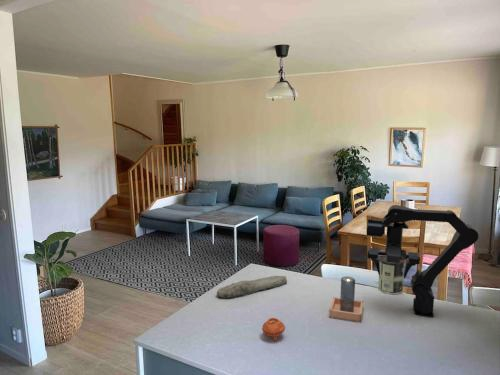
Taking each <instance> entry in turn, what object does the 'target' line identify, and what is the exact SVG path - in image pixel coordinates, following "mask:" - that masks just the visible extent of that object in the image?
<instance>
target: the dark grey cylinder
mask: <svg viewBox="0 0 500 375" xmlns="http://www.w3.org/2000/svg"><path fill="white" fill-rule="evenodd" d="M355 290H356V279H355V278H354V277H352V276H347V275H346V276H342V277H341V278H340V297H339V298H340V311H345V312H352V313H354V300H355V296H356V294H355V292H356V291H355Z"/></svg>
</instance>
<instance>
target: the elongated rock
mask: <svg viewBox="0 0 500 375" xmlns="http://www.w3.org/2000/svg"><path fill="white" fill-rule="evenodd" d="M285 284H288V280H287V276H284V275H272V276H267V277H263V278H258V279H254V280H241V281H238V282H234V283H231V284H229V285H226V286H222V287H221V288H218V289H217V291H216V295H217V296H218V297H220V298H223V299H225V298H227V299H228V298H238V297H241V296H242V297H245V296H248V295H250V294H254V293H257V292H259V291H263V290H264V291H265V290H267V289H272V288H277V287H280V286H283V285H285Z"/></svg>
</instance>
